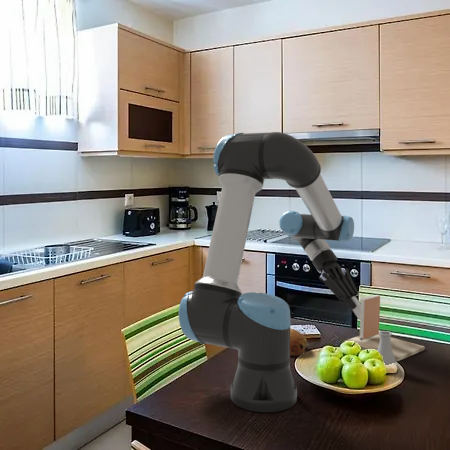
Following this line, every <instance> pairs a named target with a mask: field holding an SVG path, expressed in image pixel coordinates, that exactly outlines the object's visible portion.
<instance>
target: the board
mask: <svg viewBox="0 0 450 450" xmlns="http://www.w3.org/2000/svg"><path fill="white" fill-rule="evenodd" d="M345 341H354V342H357V343H358V344H359V345H360V346H361V348H362V349H376V350H378V347H379V343H380V335H379V334H378V335H375V336H373V337H370V338H367V339H364V340H360V335H357V336H354V337H350V338H348V339H346V340H343V343H344V342H345ZM390 341H391V347H392V351H393V354H394V357H395V360H396V362H400V361H402V360H405V359H407V358H409V357H411V356H413V355H415V354H418V353H420V352H423V351H425V348H426V347H425V346H424V345H420V344H417V343H414V342H413V343H412V342H409V341H407V340H404V339H399V338H395V337H392V336H391V340H390Z"/></svg>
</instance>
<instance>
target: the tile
mask: <svg viewBox="0 0 450 450" xmlns="http://www.w3.org/2000/svg"><path fill="white" fill-rule="evenodd" d="M360 303H361V310H360V319H359V336H360V340H364V339H367V338H370V337H373V336H375V335H378V334H379V332H380V313H381V311H380V308H381V295H379V294H375V295H371V296H366V297H364V298H360Z"/></svg>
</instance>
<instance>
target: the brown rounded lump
mask: <svg viewBox="0 0 450 450" xmlns="http://www.w3.org/2000/svg"><path fill="white" fill-rule="evenodd" d="M307 340H308V339H307V338H306V337H305V336H304V335H303V333H301V332H300V331H299V330H297V329H296V328H295V329H294V328H290V357H292V356H293V357H294V356H295V357H296V356H302V355H304V354H303V353H305V352H306V353H307V352H308V350H309V348H308V347H310V344H309V342H308V341H307ZM306 353H305V354H306ZM301 354H302V355H301Z"/></svg>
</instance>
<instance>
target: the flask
mask: <svg viewBox="0 0 450 450" xmlns="http://www.w3.org/2000/svg"><path fill="white" fill-rule="evenodd" d="M379 335H380V343H379V347H378V350H377V351H378V352H379V353H380V354H381V355H382V356H383V361H384V363H385V365H389V364H392V363H395V362H396V363H397V361H396V360H395V357H394V354H393V351H392V347H391V341H390V340H391V337H392V335H393V333H392V332H391V331H387V330H379Z"/></svg>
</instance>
